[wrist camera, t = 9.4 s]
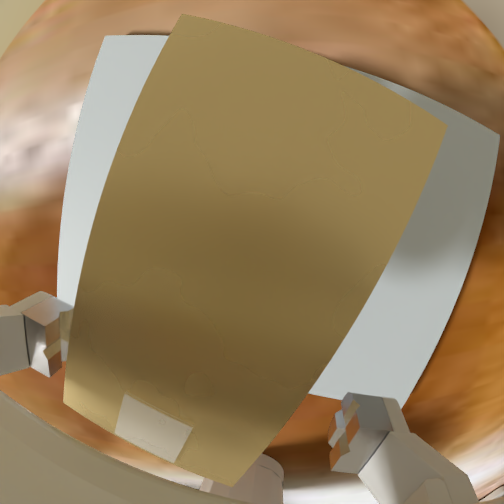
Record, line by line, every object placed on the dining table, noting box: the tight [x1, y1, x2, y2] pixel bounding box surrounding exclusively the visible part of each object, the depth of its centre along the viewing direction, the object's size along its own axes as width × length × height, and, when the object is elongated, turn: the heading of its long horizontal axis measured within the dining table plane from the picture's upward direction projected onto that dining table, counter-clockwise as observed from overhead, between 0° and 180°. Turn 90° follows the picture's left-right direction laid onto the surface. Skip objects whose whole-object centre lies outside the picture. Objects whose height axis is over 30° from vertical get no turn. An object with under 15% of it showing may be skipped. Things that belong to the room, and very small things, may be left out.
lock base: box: [57, 35, 500, 409], centre depth 13 cm, size 24×18×7 cm
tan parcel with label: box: [63, 14, 448, 487], centre depth 7 cm, size 9×5×5 cm, turn 156°
